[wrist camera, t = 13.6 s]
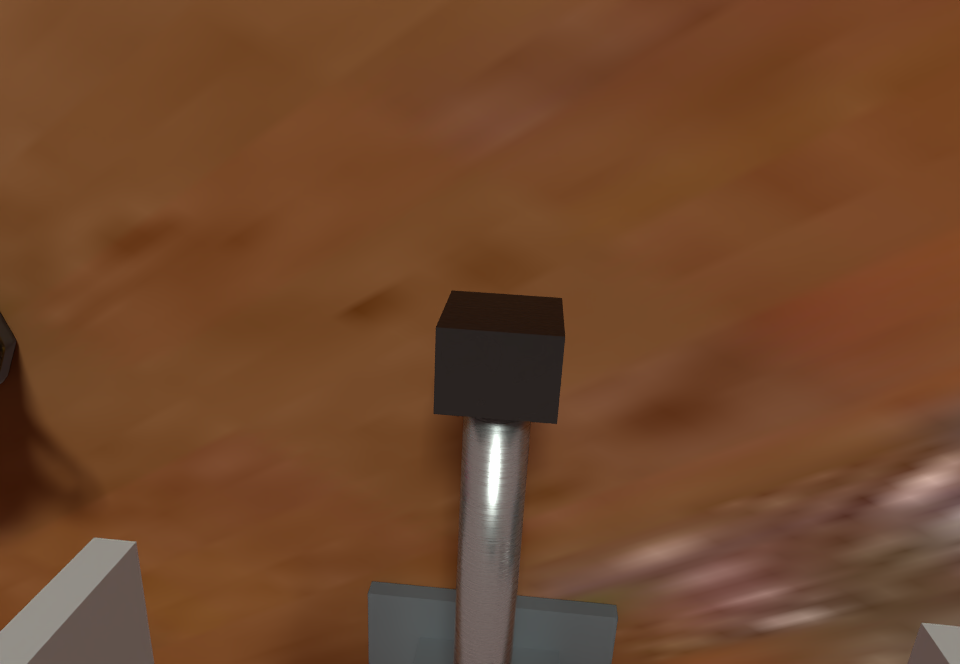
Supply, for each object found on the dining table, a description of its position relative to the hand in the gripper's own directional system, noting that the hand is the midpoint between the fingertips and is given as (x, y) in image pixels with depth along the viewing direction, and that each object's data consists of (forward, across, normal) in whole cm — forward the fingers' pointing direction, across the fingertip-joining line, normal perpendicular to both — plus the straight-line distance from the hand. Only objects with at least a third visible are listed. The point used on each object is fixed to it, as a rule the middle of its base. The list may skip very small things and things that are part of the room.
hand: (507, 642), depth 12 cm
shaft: (+15, -1, -10) cm, 18 cm away
